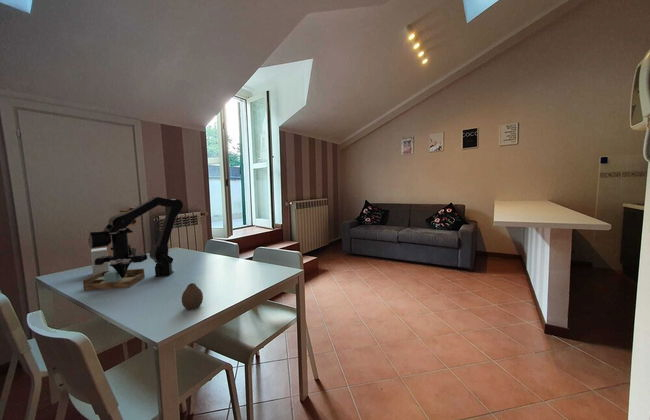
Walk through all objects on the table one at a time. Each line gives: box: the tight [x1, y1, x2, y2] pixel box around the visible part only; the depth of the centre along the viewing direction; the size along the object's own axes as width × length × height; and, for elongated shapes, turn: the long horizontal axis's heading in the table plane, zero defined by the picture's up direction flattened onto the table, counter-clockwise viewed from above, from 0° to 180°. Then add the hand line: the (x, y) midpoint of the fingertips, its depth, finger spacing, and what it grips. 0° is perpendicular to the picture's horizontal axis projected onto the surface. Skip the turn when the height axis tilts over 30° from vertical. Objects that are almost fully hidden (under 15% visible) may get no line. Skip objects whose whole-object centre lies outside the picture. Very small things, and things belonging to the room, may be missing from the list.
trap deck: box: [82, 268, 146, 291], centre depth 121 cm, size 18×13×4 cm
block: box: [104, 269, 122, 283], centre depth 118 cm, size 4×4×4 cm
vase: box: [181, 282, 204, 311], centre depth 95 cm, size 7×7×9 cm
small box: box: [90, 246, 110, 276], centre depth 136 cm, size 8×6×13 cm
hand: (123, 277), depth 119 cm, fingers closed
